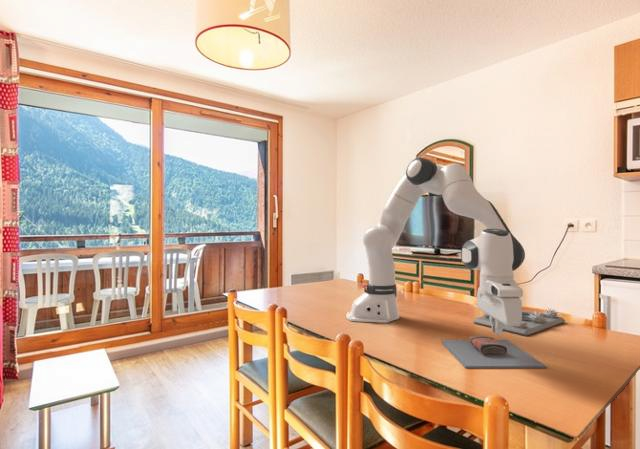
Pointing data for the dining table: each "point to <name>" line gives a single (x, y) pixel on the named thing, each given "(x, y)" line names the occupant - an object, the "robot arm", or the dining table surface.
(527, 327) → the grey spiked board
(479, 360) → the mat
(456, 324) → the dining table surface
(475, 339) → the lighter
